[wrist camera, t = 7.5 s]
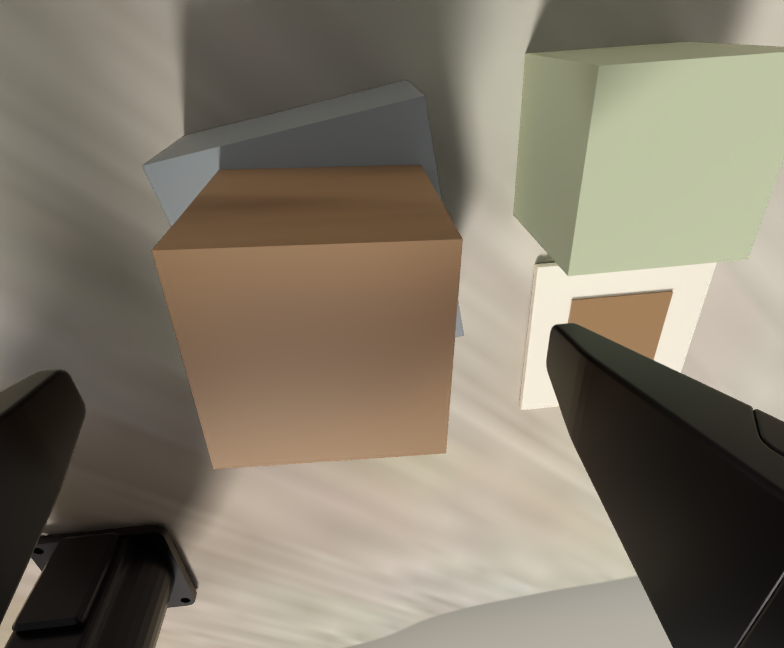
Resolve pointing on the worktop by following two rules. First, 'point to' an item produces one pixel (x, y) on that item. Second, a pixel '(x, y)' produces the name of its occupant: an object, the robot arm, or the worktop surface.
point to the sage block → (649, 153)
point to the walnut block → (315, 312)
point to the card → (613, 316)
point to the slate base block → (302, 144)
